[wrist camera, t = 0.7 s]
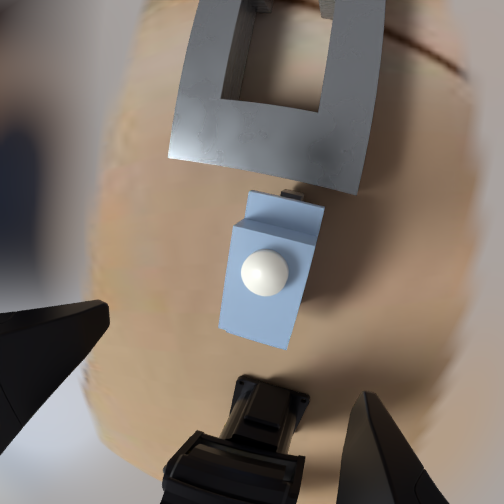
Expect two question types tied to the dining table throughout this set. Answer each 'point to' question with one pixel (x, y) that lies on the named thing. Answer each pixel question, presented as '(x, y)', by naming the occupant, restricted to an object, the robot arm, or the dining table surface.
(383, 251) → the dining table surface
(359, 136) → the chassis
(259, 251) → the servo
